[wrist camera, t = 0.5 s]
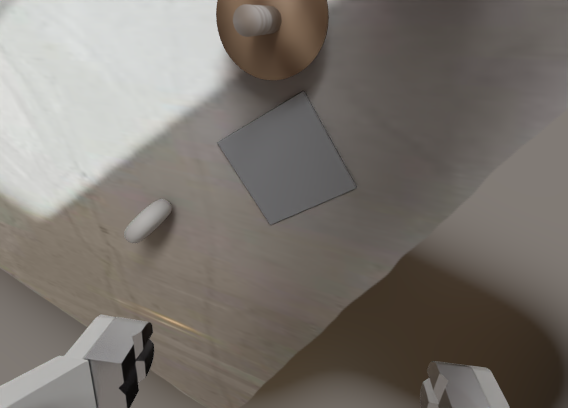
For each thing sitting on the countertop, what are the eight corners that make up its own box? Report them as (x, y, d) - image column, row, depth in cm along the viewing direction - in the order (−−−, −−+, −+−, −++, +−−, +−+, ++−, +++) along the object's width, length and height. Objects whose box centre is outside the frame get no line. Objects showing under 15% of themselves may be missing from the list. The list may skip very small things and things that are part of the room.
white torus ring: (170, 187, 69) (137, 211, 60) (183, 200, 69) (153, 226, 61) (144, 216, 74) (111, 242, 65) (157, 228, 74) (126, 256, 66)
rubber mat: (303, 90, 54) (303, 91, 54) (356, 186, 59) (356, 188, 58) (218, 141, 62) (217, 142, 61) (271, 223, 66) (270, 224, 66)
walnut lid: (290, -78, 41) (265, -100, 33) (349, 41, 44) (339, 46, 37) (199, -1, 47) (159, -4, 39) (257, 98, 50) (232, 113, 43)
